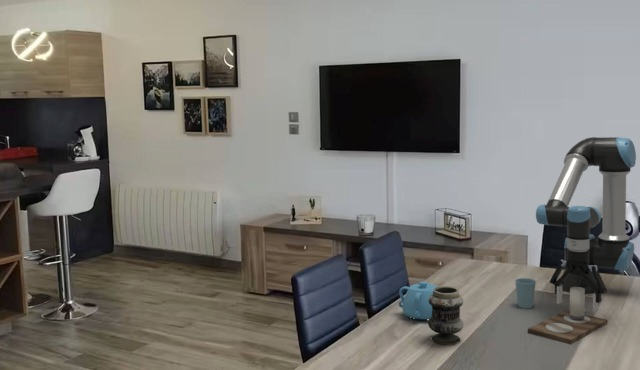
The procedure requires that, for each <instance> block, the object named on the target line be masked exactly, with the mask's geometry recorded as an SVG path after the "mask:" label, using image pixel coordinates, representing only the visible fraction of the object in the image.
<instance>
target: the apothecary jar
mask: <svg viewBox="0 0 640 370" xmlns="http://www.w3.org/2000/svg"><path fill="white" fill-rule="evenodd" d="M429 304H430V305H431V306H432V317H431V318H430V319H429V321H427V325H428V327H429V328H430V330H431V331H433V332H434V333H436V334H433V335H432V336H431V338H432V339H431V341H432V340H433V341H434V342H433V341H432V342H433V343H435V342H437V343H436V344H438V343H439V345H445V344H451V345H455V344H457V343H458V341H459V342H461V338H460V337H459V336H458V335H456V334H457V333H459V332H461V331H462V329H463V328H464V321H463V320H462V319H461V307H462V306H463V304H464V298H463V297H462V295H460V294H459V289H458V288H457V287H453V286H449V285H440V286H437V287H436V288H434V290H433V294H432V295H431V296H430V297H429Z"/></svg>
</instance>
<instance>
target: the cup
mask: <svg viewBox="0 0 640 370" xmlns="http://www.w3.org/2000/svg"><path fill="white" fill-rule="evenodd" d="M514 282H515V291H516V298H517V300H516V301H517V306H518V307H519V308H521V309H531V308H534V307H533V306H534V297H535V290H536V283H537V282H536V280H535V279H532V278H528V277H527V278H526V277H525V278H524V277H523V278H522V277H521V278H516V279H515V281H514Z"/></svg>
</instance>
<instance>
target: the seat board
mask: <svg viewBox="0 0 640 370" xmlns="http://www.w3.org/2000/svg"><path fill="white" fill-rule="evenodd" d="M606 325H608V319H606V318H602V317H597V316H593V315H589V314H584V320H581V321H577V320H572V319H570V310H566V309H565V310H563V311H561V312H560V313H556V314H555V315H553V316H551V317H549V318H547V319H544V320H542V321H541V322H539V323H537V324H535V325H532V326H530V327H529V328H527V333H528V334H531V335H534V336H539V337H542V338H547V339H550V340H554V341H556V342H557V341H558V342H562V343H564V344H565V343H566V344H569V345H572V344H574V343H576V342H578V341H579V340H581V339H583V338H585V337H586V336H588V335H590V334H592V333H594V332H596V331H597V330H599V329H600V328H602V326H603V327H604V326H606Z"/></svg>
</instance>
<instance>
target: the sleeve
mask: <svg viewBox="0 0 640 370" xmlns="http://www.w3.org/2000/svg"><path fill="white" fill-rule="evenodd" d="M585 294H586V293H585V289H584V288H581V287H571V288H570V292H569V311H570V319H572V320H577V321H581V320H584V315H585V305H586V304H585V303H586V299H585Z"/></svg>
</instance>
